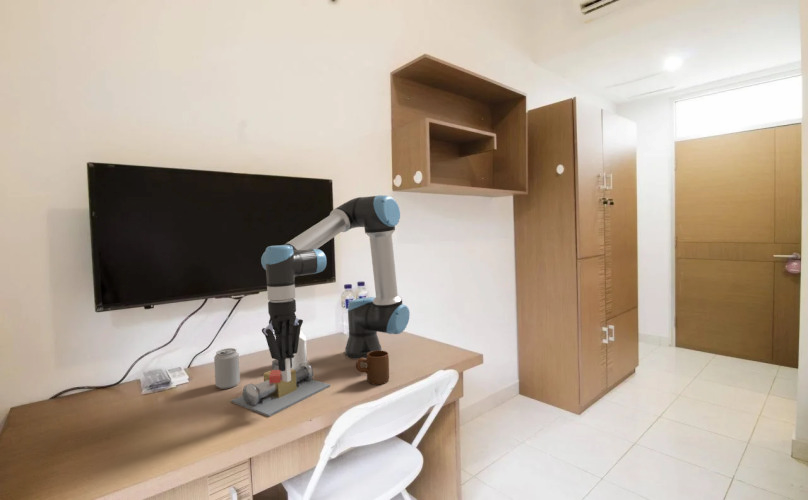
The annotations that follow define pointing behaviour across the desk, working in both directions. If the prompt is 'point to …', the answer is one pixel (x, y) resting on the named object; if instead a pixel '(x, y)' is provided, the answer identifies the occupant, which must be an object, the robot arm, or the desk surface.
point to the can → (227, 368)
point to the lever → (275, 373)
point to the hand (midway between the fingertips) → (286, 380)
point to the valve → (277, 385)
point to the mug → (375, 367)
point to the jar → (300, 351)
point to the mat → (284, 398)
